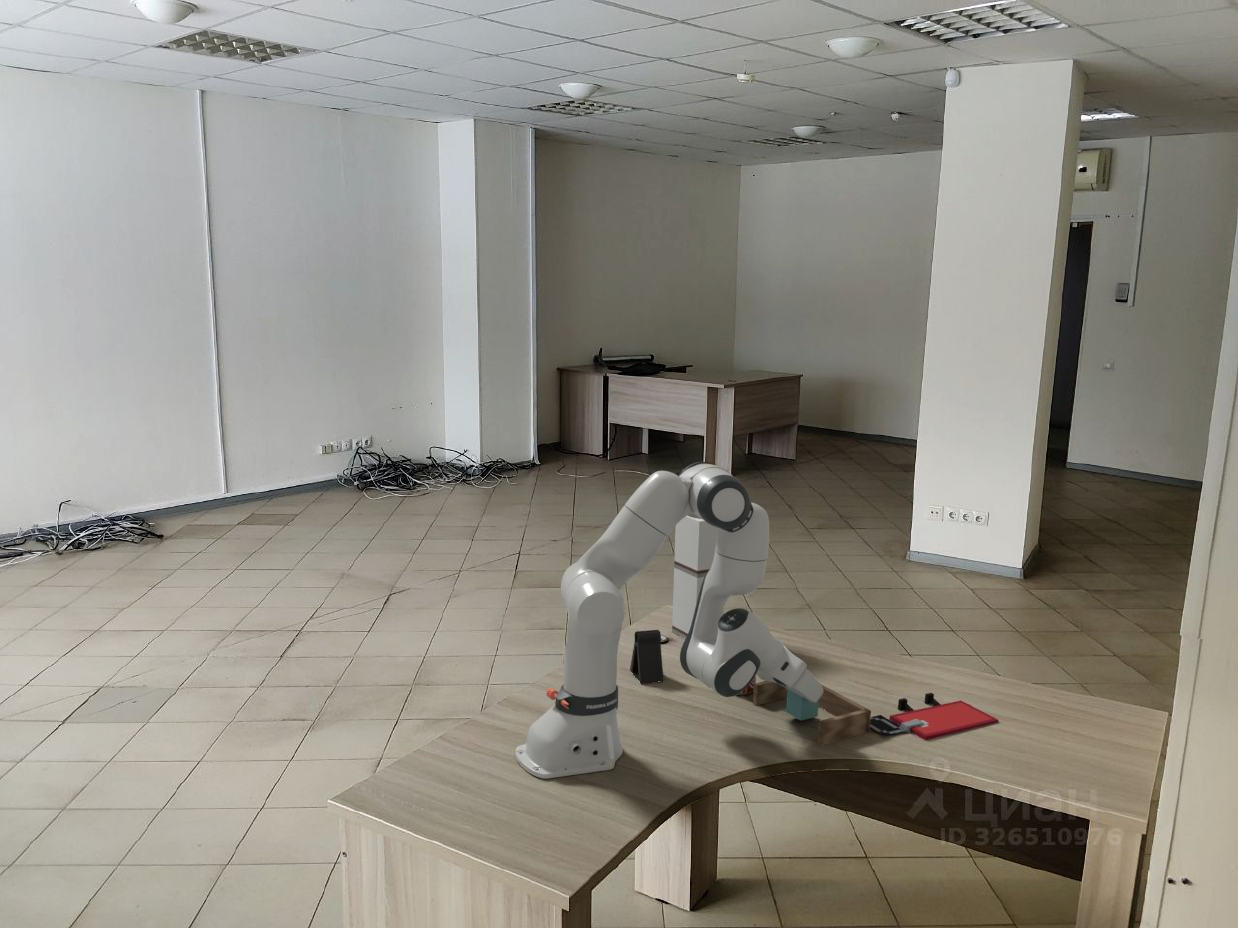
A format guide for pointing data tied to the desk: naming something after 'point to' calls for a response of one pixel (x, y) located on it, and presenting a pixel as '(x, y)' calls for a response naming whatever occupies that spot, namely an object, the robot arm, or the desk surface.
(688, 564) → the white striped pillar
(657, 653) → the phone stand
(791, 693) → the teal block
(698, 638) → the robot arm
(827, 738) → the walnut u-shaped frame
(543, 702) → the desk surface
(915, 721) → the red board with handle
